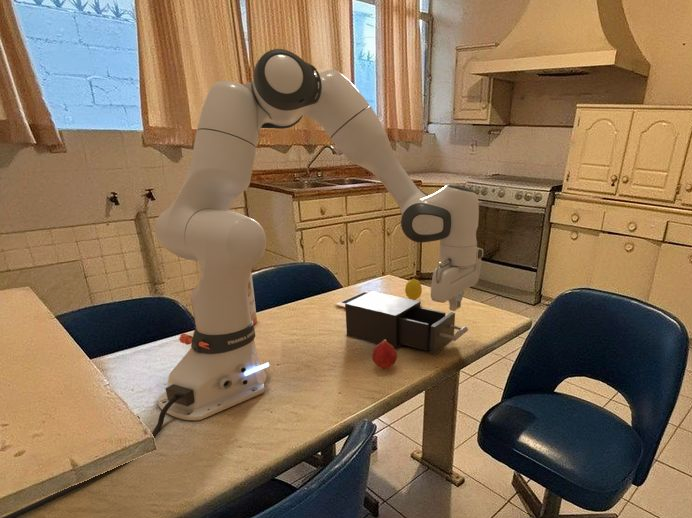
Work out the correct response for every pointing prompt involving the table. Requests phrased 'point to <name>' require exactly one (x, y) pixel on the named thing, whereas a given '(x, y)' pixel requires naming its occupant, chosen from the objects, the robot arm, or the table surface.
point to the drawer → (427, 329)
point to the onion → (384, 355)
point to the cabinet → (377, 317)
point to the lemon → (413, 289)
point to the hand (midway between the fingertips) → (455, 308)
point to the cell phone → (350, 299)
